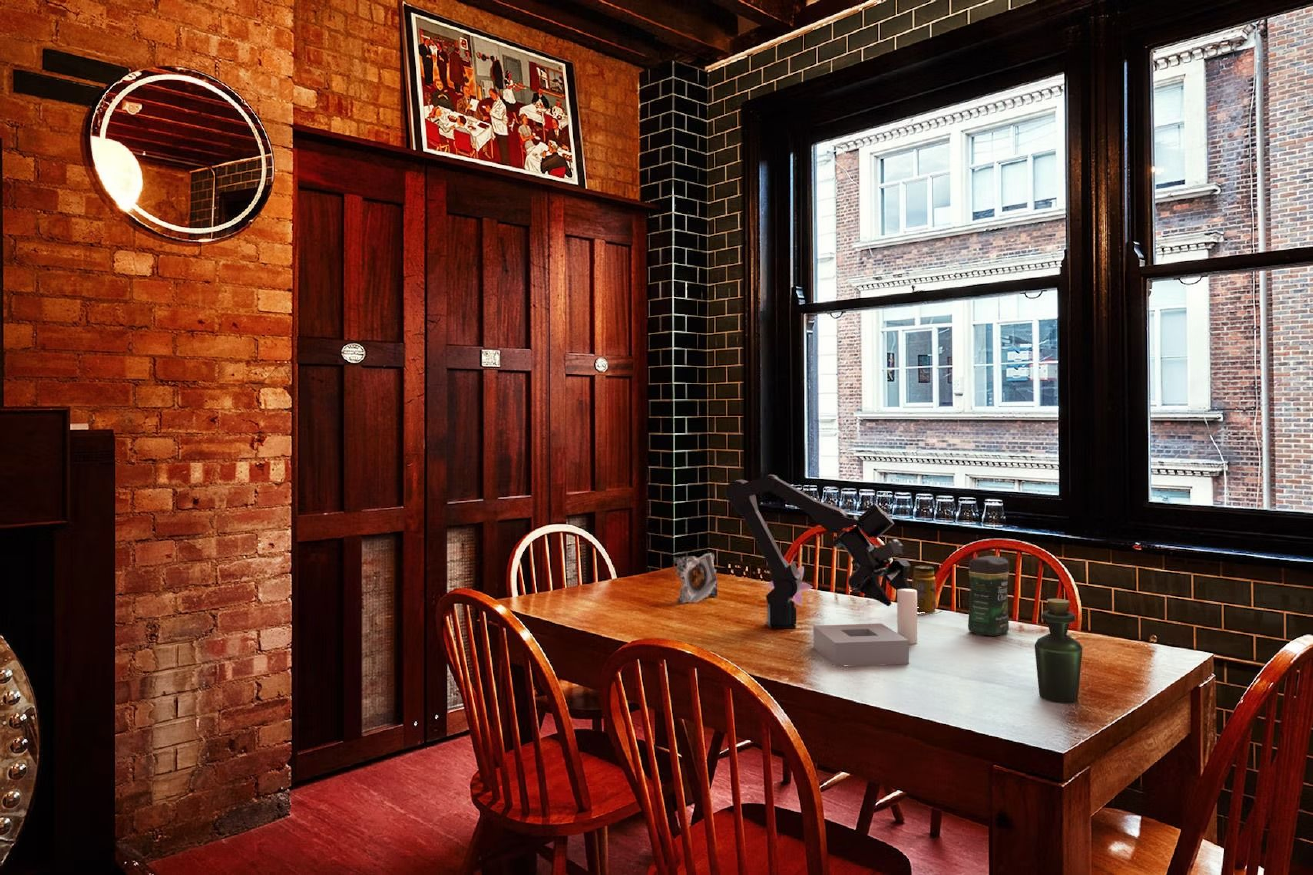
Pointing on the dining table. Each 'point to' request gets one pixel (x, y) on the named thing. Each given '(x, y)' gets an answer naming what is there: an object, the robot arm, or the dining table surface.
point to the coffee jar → (988, 596)
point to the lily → (798, 596)
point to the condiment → (924, 589)
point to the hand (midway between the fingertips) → (901, 602)
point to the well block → (860, 644)
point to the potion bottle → (1058, 656)
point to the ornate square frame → (696, 577)
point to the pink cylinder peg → (907, 614)
